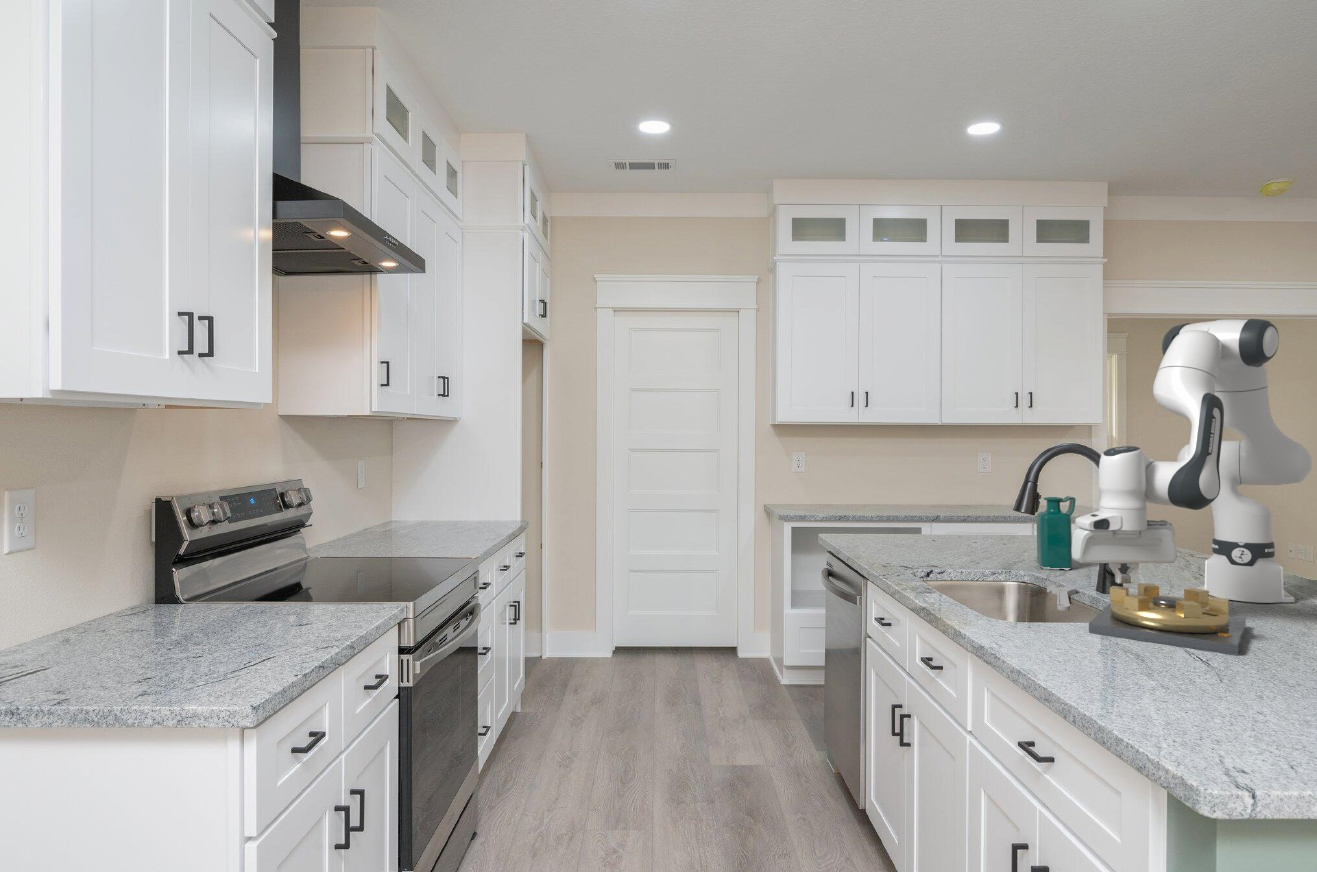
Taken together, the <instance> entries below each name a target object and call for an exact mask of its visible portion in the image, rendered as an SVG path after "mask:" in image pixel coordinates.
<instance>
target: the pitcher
mask: <svg viewBox="0 0 1317 872" xmlns="http://www.w3.org/2000/svg"><path fill="white" fill-rule="evenodd" d="M1042 499H1043V500H1044V501H1046V509H1045V510H1044V511H1040V512H1037V514H1036V561H1037V562H1036V563H1038V564H1039V565H1040V566H1043V567H1050V568H1072V569H1073V557H1072V539H1073V534H1072V518H1071V517H1072V515H1073V514H1074V512H1075V508H1076V500H1077V499H1076V498H1075V497H1074V496H1071V495H1070V496H1069V495H1067V496H1065V497H1064V498H1063V497H1059V496H1047V497H1046V496H1045V497H1043V498H1042ZM1068 501H1069V502H1068ZM1067 502H1068V509H1067V511H1066V512H1064V511H1062V510H1061V509H1062V508H1061V503H1067ZM1040 566H1039V567H1040Z"/></svg>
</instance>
